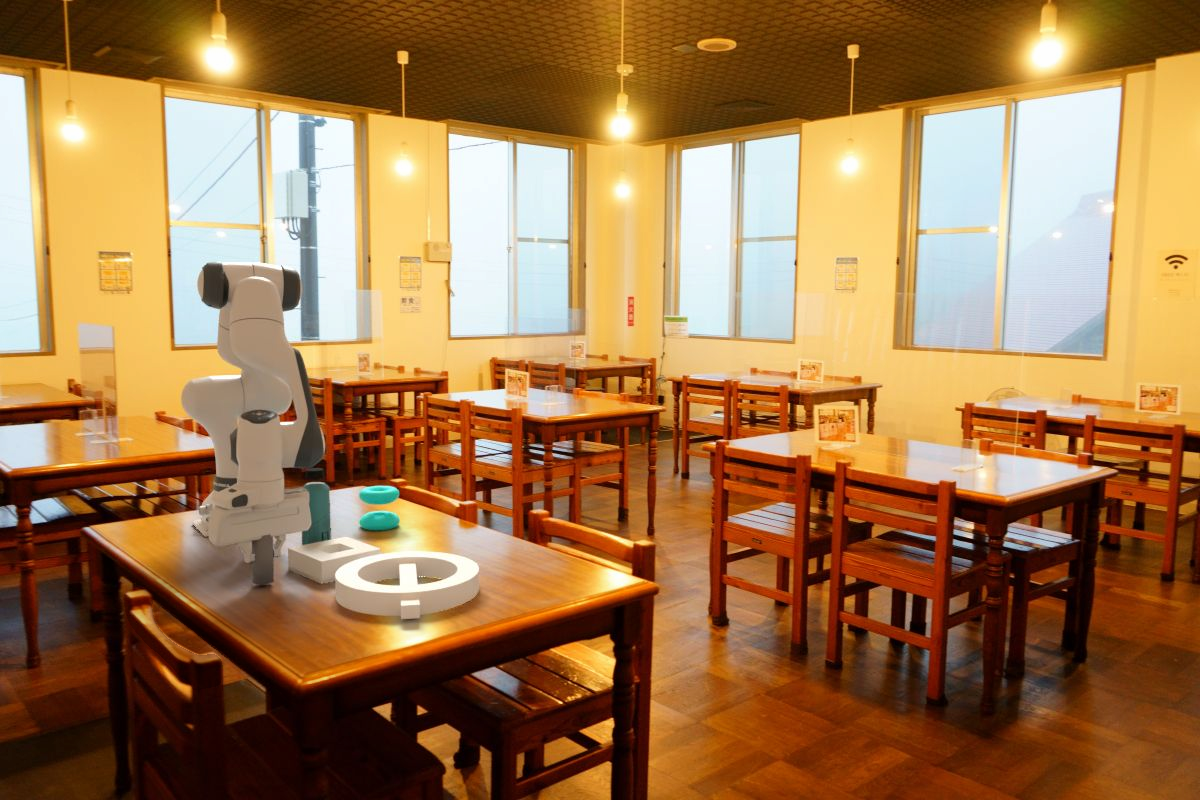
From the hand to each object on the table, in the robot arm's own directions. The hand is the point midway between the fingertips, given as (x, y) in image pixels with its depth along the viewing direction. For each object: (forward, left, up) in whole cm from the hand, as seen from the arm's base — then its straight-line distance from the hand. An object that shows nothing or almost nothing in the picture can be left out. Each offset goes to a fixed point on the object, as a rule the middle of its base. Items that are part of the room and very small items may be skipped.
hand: (262, 559), depth 184 cm
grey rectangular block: (0, 0, -5) cm, 5 cm away
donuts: (-26, +44, -6) cm, 51 cm away
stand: (0, +16, -6) cm, 17 cm away
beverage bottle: (-13, +19, -6) cm, 24 cm away
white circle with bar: (+23, +19, -6) cm, 31 cm away
